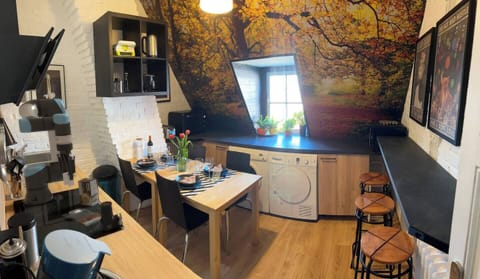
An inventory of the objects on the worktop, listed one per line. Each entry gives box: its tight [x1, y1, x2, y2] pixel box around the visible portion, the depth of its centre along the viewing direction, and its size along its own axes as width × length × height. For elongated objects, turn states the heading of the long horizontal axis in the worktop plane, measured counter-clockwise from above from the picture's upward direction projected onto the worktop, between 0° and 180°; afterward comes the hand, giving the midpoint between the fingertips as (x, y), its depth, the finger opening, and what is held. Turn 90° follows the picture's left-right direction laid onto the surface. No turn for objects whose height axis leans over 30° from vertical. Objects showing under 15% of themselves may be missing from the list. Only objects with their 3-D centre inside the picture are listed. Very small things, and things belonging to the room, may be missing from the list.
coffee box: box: [77, 177, 101, 207], centre depth 182 cm, size 9×6×16 cm
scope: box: [98, 200, 124, 232], centre depth 151 cm, size 8×14×10 cm
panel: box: [61, 207, 101, 227], centre depth 165 cm, size 23×12×1 cm, turn 60°
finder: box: [68, 208, 86, 220], centre depth 164 cm, size 6×5×3 cm
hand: (69, 184), depth 163 cm, fingers open, 3 cm apart
